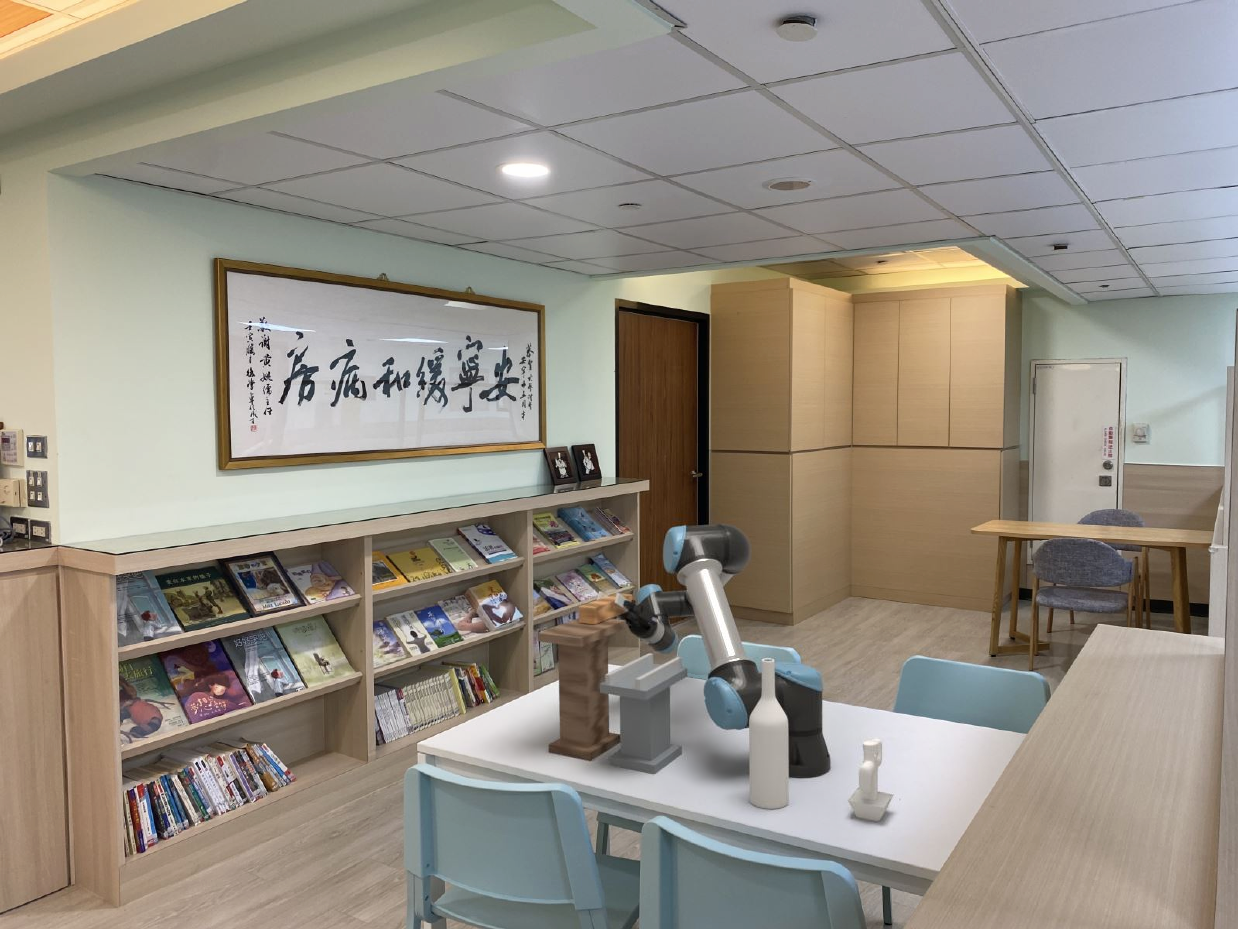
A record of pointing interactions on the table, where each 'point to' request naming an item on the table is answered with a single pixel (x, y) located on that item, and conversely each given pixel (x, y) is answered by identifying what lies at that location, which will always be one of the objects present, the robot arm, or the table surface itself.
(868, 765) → the figurine
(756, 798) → the bottle
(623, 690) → the cradle
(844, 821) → the table surface
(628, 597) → the wooden grain block
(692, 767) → the table surface
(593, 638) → the tall stand
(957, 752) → the table surface
